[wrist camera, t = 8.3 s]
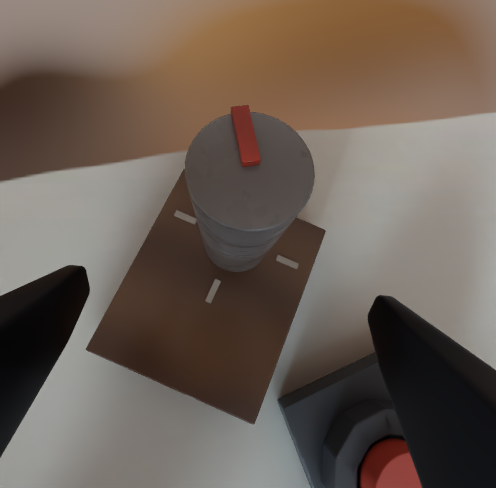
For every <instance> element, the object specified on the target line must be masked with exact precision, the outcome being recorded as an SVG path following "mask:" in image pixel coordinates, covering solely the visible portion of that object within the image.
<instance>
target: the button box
mask: <svg viewBox="0 0 496 488" xmlns="http://www.w3.org/2000/svg"><path fill="white" fill-rule="evenodd" d="M278 403H279V406H280V408H281V411H282V414H283V416H284V419H285V421H286V424H287V427H288V429H289V432H290V434H291V437H292V440H293V442H294V445H295V447H296V450H297V453H298V455H299V458H300V460H301V463H302V466H303V468H304V471H305V473H306V476H307V479H308V481H309V484H310V486H311V488H360V484H359V476H360V469H361V465H362V462H363V460H364V458H365V456H366V454H367V453H368V451H369V450H370V449H371V448H372V447H373V446H374V445H375V444H377V443H378V442H380V441H383V440H386V439H392V438H393V439H401V440H404V441H405V438H404V435H403V433H402V430H401V427H400V424H399V421H398V419H397V416H396V413H395V410H394V407H393V405H392V402H391V399H390V396H389V393H388V390H387V388H386V385H385V382H384V379H383V376H382V374H381V371H380V367H379V364H378V361H377V357H376V353H373V354H371V355H369V356H367V357H365V358H363V359H361V360H359V361H356V362H354V363H352V364H350V365H348V366H346V367H344V368H342V369H340V370H338V371H336V372H333V373H331V374H329V375H327V376H325V377H323V378H321V379H319V380H317V381H315V382H313V383H311V384H308V385H306V386H304V387H302V388H300V389H298V390H296V391H294V392H292V393H290V394H288V395H286V396H283V397H281V398H279V399H278Z"/></svg>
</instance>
